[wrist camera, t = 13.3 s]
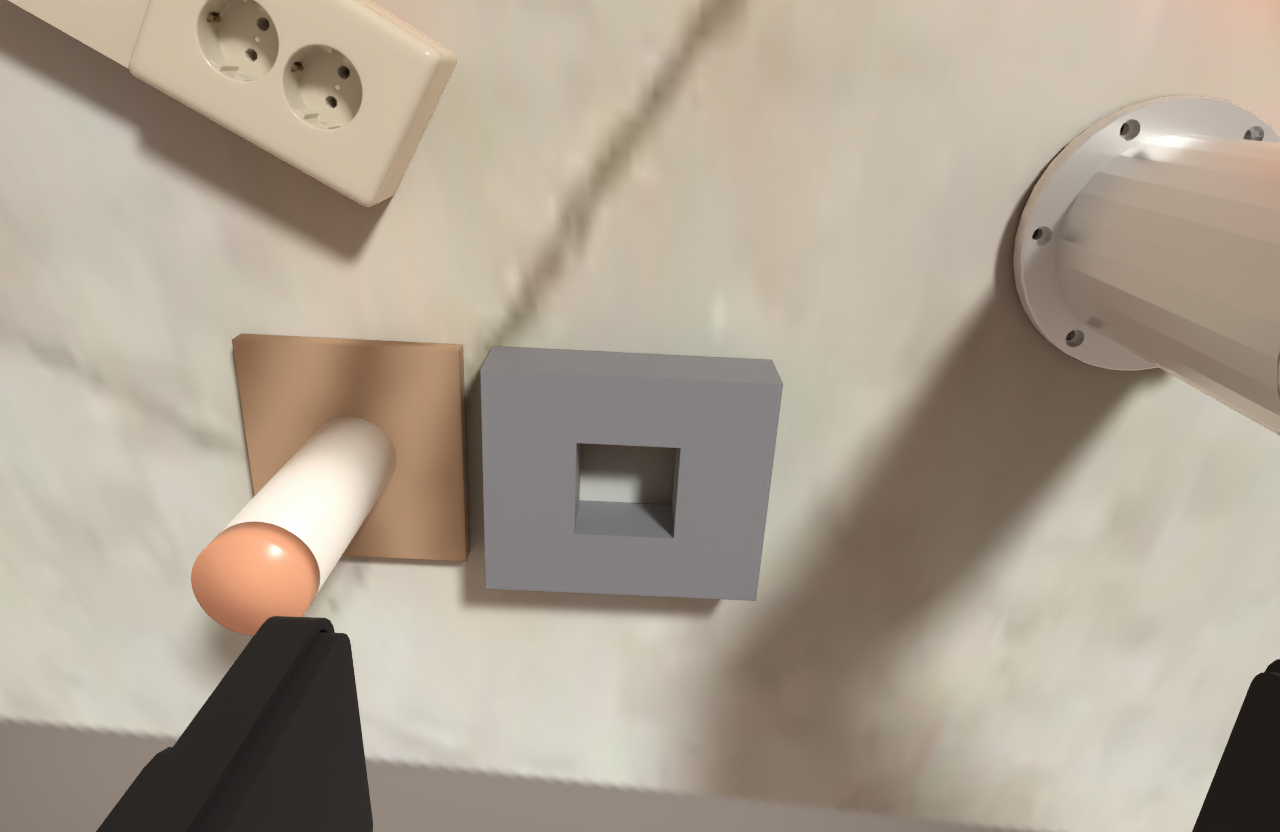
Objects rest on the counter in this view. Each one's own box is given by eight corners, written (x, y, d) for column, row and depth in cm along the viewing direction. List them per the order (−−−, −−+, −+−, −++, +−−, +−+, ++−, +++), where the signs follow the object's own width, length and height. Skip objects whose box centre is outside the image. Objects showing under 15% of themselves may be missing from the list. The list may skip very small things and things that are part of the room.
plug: (393, 418, 42) (301, 539, 30) (399, 496, 43) (314, 637, 32) (305, 415, 42) (181, 535, 30) (315, 493, 43) (201, 634, 32)
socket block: (771, 359, 41) (782, 384, 38) (747, 563, 46) (755, 600, 43) (493, 346, 41) (480, 369, 38) (496, 552, 46) (485, 588, 43)
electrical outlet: (-19, -230, 29) (440, 54, 33) (56, -196, 33) (461, 56, 37) (-66, -34, 32) (367, 212, 35) (9, -23, 35) (394, 198, 39)
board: (463, 344, 41) (458, 350, 40) (469, 551, 46) (465, 561, 45) (241, 333, 41) (231, 339, 40) (270, 542, 46) (262, 552, 45)
